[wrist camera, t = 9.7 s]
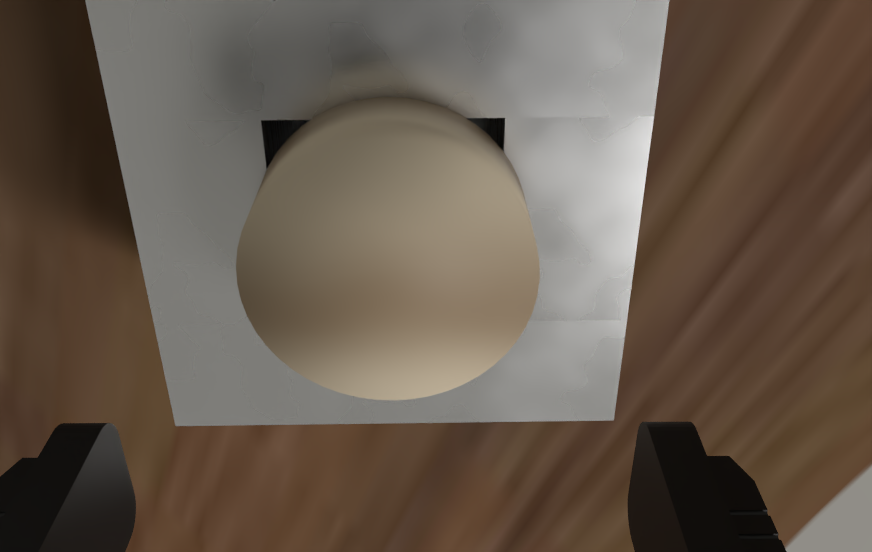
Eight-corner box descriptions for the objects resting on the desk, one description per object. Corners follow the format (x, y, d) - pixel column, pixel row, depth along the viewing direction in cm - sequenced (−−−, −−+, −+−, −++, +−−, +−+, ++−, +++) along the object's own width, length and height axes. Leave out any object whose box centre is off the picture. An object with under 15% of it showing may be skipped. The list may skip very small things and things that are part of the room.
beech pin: (278, 34, 23) (215, 140, 16) (511, 31, 23) (549, 136, 16) (299, 239, 26) (254, 402, 19) (503, 237, 26) (532, 398, 19)
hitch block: (110, -210, 21) (-15, -209, 15) (658, -213, 21) (751, -214, 15) (211, 362, 30) (158, 505, 24) (594, 358, 30) (637, 499, 24)
